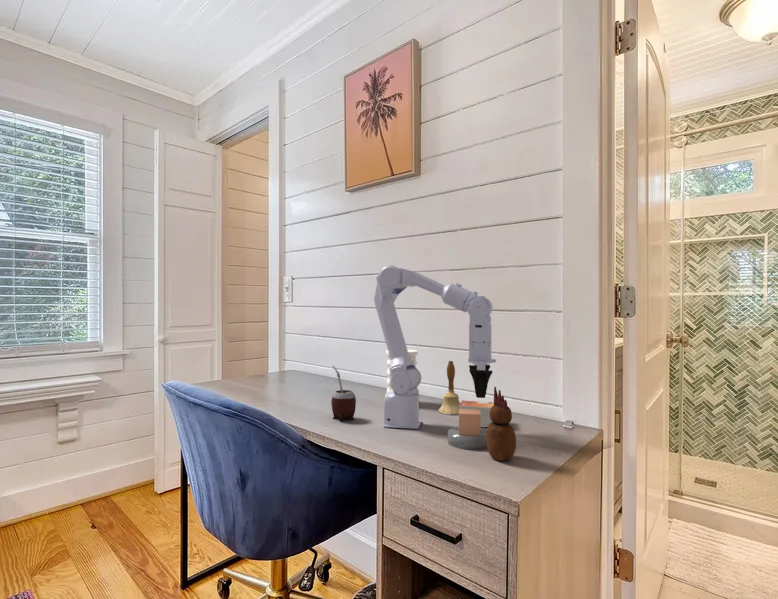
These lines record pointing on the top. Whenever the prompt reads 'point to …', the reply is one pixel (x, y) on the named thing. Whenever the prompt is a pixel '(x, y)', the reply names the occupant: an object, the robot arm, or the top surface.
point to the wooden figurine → (500, 430)
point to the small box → (483, 408)
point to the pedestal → (467, 439)
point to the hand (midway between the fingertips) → (480, 394)
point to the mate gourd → (343, 403)
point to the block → (469, 422)
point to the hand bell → (450, 394)
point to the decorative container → (411, 353)
